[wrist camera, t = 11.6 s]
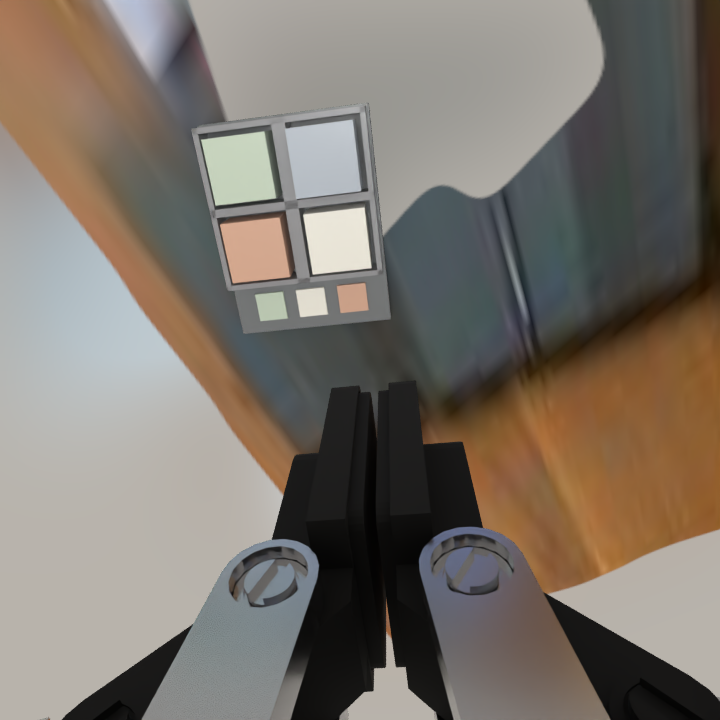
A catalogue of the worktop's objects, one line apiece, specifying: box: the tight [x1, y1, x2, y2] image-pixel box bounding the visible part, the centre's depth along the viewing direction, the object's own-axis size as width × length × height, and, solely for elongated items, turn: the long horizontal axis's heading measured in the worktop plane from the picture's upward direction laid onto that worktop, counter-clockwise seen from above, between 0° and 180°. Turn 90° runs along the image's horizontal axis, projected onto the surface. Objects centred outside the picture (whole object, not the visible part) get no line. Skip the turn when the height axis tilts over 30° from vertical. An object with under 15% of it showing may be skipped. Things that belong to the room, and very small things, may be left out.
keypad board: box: [191, 103, 391, 334], centre depth 44 cm, size 13×17×4 cm
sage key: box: [201, 130, 283, 206], centre depth 42 cm, size 5×5×3 cm
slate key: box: [285, 119, 363, 199], centre depth 39 cm, size 5×5×3 cm
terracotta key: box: [220, 211, 295, 283], centre depth 44 cm, size 5×5×3 cm
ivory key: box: [303, 202, 372, 274], centre depth 43 cm, size 5×5×3 cm
